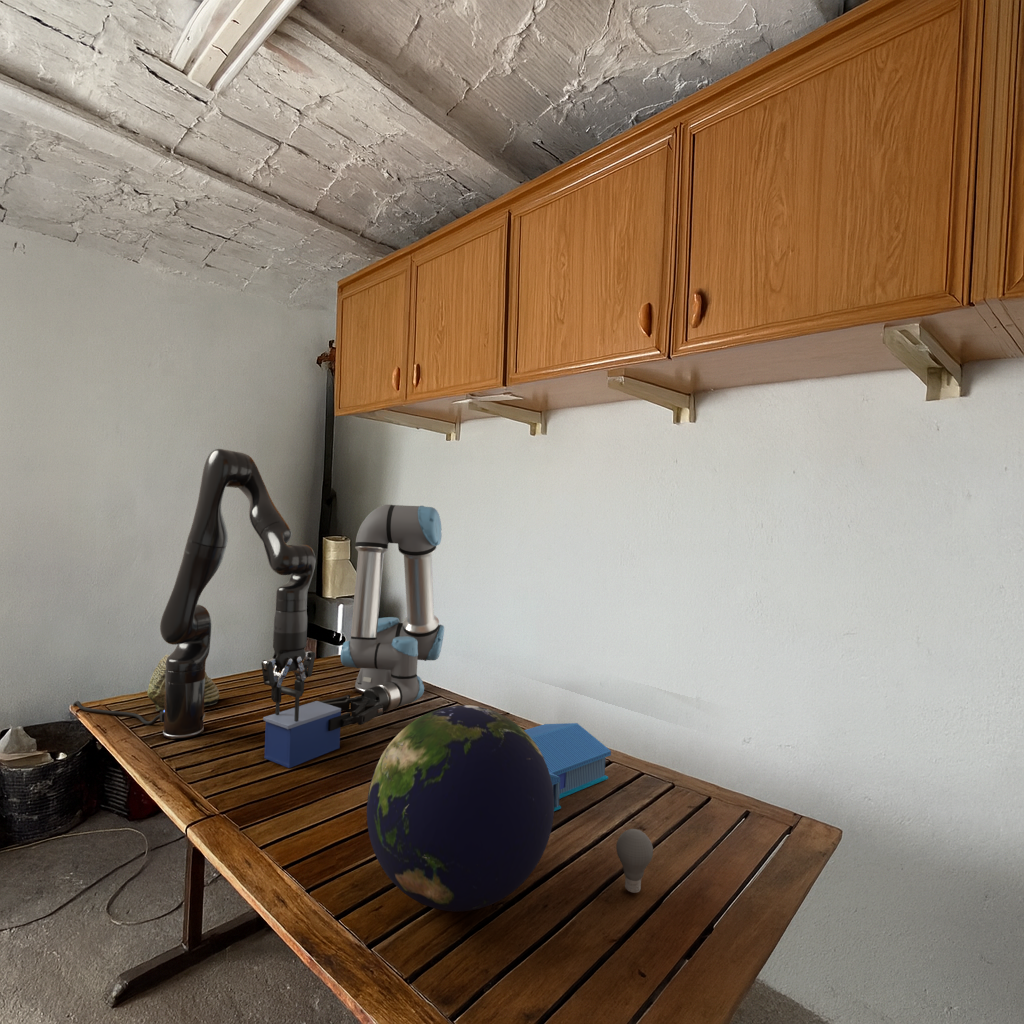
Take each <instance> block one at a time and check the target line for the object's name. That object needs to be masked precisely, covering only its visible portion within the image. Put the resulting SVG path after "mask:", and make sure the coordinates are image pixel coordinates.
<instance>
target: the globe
mask: <svg viewBox="0 0 1024 1024" xmlns="http://www.w3.org/2000/svg"><path fill="white" fill-rule="evenodd" d="M524 730H525V729H523V728H522V727H521V726H520V725H518V723H516V722H514V721H513V720H512V719H510V718H508V717H507V716H505V715H503V714H501V713H499V712H497V711H494V710H493V709H489V708H485V707H482V706H477V705H469V704H468V705H467V704H465V705H452V706H446V707H442V708H438V709H435V710H432V711H429V712H428V713H425V714H423V715H422V716H419V717H417V718H416V719H415V720H413V721H411V722H409V724H407V725H406V726H405V727H404V728H402V729H401V731H399V733H398V734H396V736H395V737H394V738H393V739H392V740H391V741H390V742H389V743H388V745H387V747H385V749H384V751H382V754H381V755H380V758H379V760H378V762H377V763H376V766H375V769H374V771H373V774H372V777H371V780H370V783H369V787H368V788H369V789H368V794H367V801H366V822H367V832H368V836H369V840H370V844H371V847H372V851H373V853H374V855H375V857H376V859H377V861H378V864H379V865H380V867H381V869H382V870H383V872H384V873H385V875H386V876H387V877H388V878H389V880H390V881H391V883H393V884H394V885H395V886H396V887H397V888H398V890H400V891H401V892H402V893H404V894H405V895H406V896H408V897H409V898H410V899H412V900H413V901H415V902H417V903H419V904H421V905H424V906H426V907H428V908H429V907H430V908H431V909H436V910H439V911H445V912H455V913H456V912H471V911H475V910H479V909H483V908H486V907H489V906H491V905H494V904H496V903H499V902H500V901H502V900H503V899H505V898H506V897H508V896H509V895H511V894H512V893H514V892H515V891H516V890H517V889H518V888H519V887H520V886H522V885H523V884H524V882H526V880H527V879H528V878H529V877H530V875H532V873H533V871H534V870H535V869H536V867H537V866H538V864H539V863H540V860H541V859H542V857H543V855H544V853H545V850H546V848H547V846H548V843H549V841H550V837H551V833H552V827H553V823H554V814H555V811H554V794H553V786H552V782H551V777H550V774H549V770H548V767H547V765H546V763H545V760H544V757H543V755H542V753H541V752H540V750H539V748H538V747H537V745H536V744H535V742H534V741H533V740H532V739H531V737H530V736H529V735H528V734H527V733H526V732H525V731H524Z"/></svg>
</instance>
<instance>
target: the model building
mask: <svg viewBox="0 0 1024 1024" xmlns="http://www.w3.org/2000/svg"><path fill="white" fill-rule="evenodd" d="M523 730H524V731H525V732H526V733H527V734H528V735H529V736H530V737H531V739H532V740H533V741H534V742H535V744H536V745H537V747H538V748H539V750H540V752H541V753H542V755H543V757H544V760H545V763H546V765H547V767H548V770H549V774H550V777H551V782H552V786H553V794H554V812H556V811H559V810H561V809H562V806H561V805H560V799H563V798H565V797H567V796H570V795H572V794H575V793H578V792H580V791H583V790H584V789H587V788H589V787H591V786H594V785H596V784H599V783H601V782H603V781H606V780H609V776H608V775H606V758H607V757H610V756H612V750H611V749H609V748H608V747H607V746H606V745H605V744H603V742H601V741H600V740H598V739H597V738H596V737H595V736H594V735H592V734H591V733H590V732H589V731H588V730H586V729H585V728H584V727H583V726H581V725H580V724H579V723H578V722H572V723H571V722H568V723H564V722H563V723H544V724H540V725H537V726H533V727H531V728H527V729H523Z"/></svg>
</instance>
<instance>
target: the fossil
mask: <svg viewBox="0 0 1024 1024" xmlns="http://www.w3.org/2000/svg"><path fill="white" fill-rule="evenodd" d="M169 655H170V654H165V655H164V656H163V657H162V658H161V659H160V660H159V662H158V663H157V666H156V667H155V669H154V670H153V672H152V675H151V677H150V680H149V684H148V688H147V697H148V699H149V700H150V701H152V703H153V704H154V706H155V711H158V712H160V711H164V705H165V674H166V660H167V658H168V656H169ZM220 698H221V696H220V690H219V688H218V686H217V685H216V683H215V682H214V681H213V679H212V678H211V677H209V675H208V674H207V672H206V671H205V693H204V707H207V706H213V705H215V704H217V703H218V701H219V699H220Z"/></svg>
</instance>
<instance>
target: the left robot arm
mask: <svg viewBox="0 0 1024 1024" xmlns="http://www.w3.org/2000/svg"><path fill="white" fill-rule="evenodd" d="M226 488H235V489H239V490H240V491H241V492H242V493H243V494H244V496H245V497H246V498H247V500H248V503H249V507H248V515H249V517H248V518H249V521H250V524H251V527H252V528H253V530H254V531H255V533H256V534H257V536H258V537H259V538H260V540H261V542H262V544H263V548H264V552H265V555H266V559H267V562H268V566H269V567H270V568H271V570H272V571H273V572H274V573H275V574H277V575H280V576H289V579H288V581H287V582H285V583H284V584H281V585H279V586H278V587H277V588H276V592H275V611H274V617H273V635H272V636H273V637H272V648H273V655H272V658H270V659H267V660H266V659H262V661H261V663H260V664H261V671H262V678H263V679H262V680H263V684H264V685H265V686H269V687H271V694H270V695H271V696H270V698H271V700H272V702H273V703H275V704H276V703H280V704H281V702H282V693H281V690H282V687H280V686H282V685H283V681H284V679H285V678H286V677H287V674H288V673H290V672H292V673H293V675H294V678H295V680H294V690H297V691H300V692H301V696H300V697H299V698H301V697H303V695H304V692H305V681H306V680H307V678H310V677H312V675H313V670H314V665H315V660H316V652H315V651H311V650H306V647H307V641H308V640H307V637H308V612H307V609H308V607H307V606H308V592H309V588H310V585H311V582H312V580H313V579H312V578H313V576H314V572H315V569H316V563H317V562H316V555H315V551H314V550H313V548H312V547H311V546H309V545H307V544H302V543H301V544H287V543H289V541H290V540H291V538H292V529H291V528H290V526H289V524H288V523H287V522H286V520H285V519H284V517H283V515H282V514H281V513H280V512H279V510H278V509H277V507H276V505H275V503H274V502H273V500H272V498H271V496H270V493H269V491H268V489H267V486H266V484H265V482H264V479H263V478H262V475H261V473H260V471H259V468H258V466H257V464H256V462H255V460H254V459H253V457H251V456H250V455H249V454H247V453H245V452H241V451H240V452H239V451H234V450H229V449H224V448H216V449H215V448H214V449H213V450H211V452H210V453H209V454H208V455H207V458H206V459H205V462H204V465H203V469H202V474H201V481H200V487H199V492H198V500H197V504H196V508H195V511H194V515H193V520H192V523H191V527H190V530H189V533H188V535H187V536H188V537H187V539H186V543H185V547H184V550H183V555H182V558H181V562H180V565H179V569H178V572H177V575H176V579H175V581H174V582H175V583H174V585H173V588H172V591H171V593H170V595H169V598H168V601H167V603H166V606H165V608H164V611H163V613H162V615H161V619H160V623H159V631H160V635H161V638H162V639H163V641H164V642H165V643H167V644H169V645H173V646H176V647H175V649H173V651H172V652H171V653H170V654H168V655H169V656H168V658H167V660H166V674H165V705H164V710H162V711H159V714H158V715H156V716H155V717H153V719H152V720H150V721H149V720H146V719H145V718H144V716H142V715H140V714H138V713H135V712H128V711H117V710H108V709H98V708H92V707H86V706H84V705H82V703H81V702H80V701H79V700H75V702H73V704H72V706H73V707H76V706H77V708H79V709H80V710H82V711H84V712H89V713H96V714H105V715H113V716H126V717H133V718H136V719H138V720H139V721H140V722H141V723H142V724H144V725H146V726H147V725H148V726H151V725H154V724H155V723H156V722H157V721H158V720H159V721H160V722H161V723H163V730H162V737H164V738H166V739H169V740H185V739H190V738H191V739H192V738H194V737H197V736H199V735H202V734H203V732H204V730H205V729H204V726H205V725H204V722H205V721H204V719H205V718H206V713H205V706H204V693H205V672H206V664H207V663H206V662H207V658H208V656H209V654H210V649H211V639H212V617H211V614H210V612H209V610H208V609H207V608H206V607H205V606H203V605H201V604H198V602H199V599H200V597H201V595H202V593H203V591H204V589H205V588H206V586H207V585H208V584H209V583H210V582H211V580H212V579H213V577H214V576H215V574H216V573H217V571H218V570H219V569H220V567H221V565H222V562H223V560H224V558H225V557H224V556H225V553H226V549H227V547H228V543H229V533H228V528H227V525H226V522H225V519H224V515H223V511H222V503H223V497H224V493H225V490H226Z"/></svg>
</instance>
